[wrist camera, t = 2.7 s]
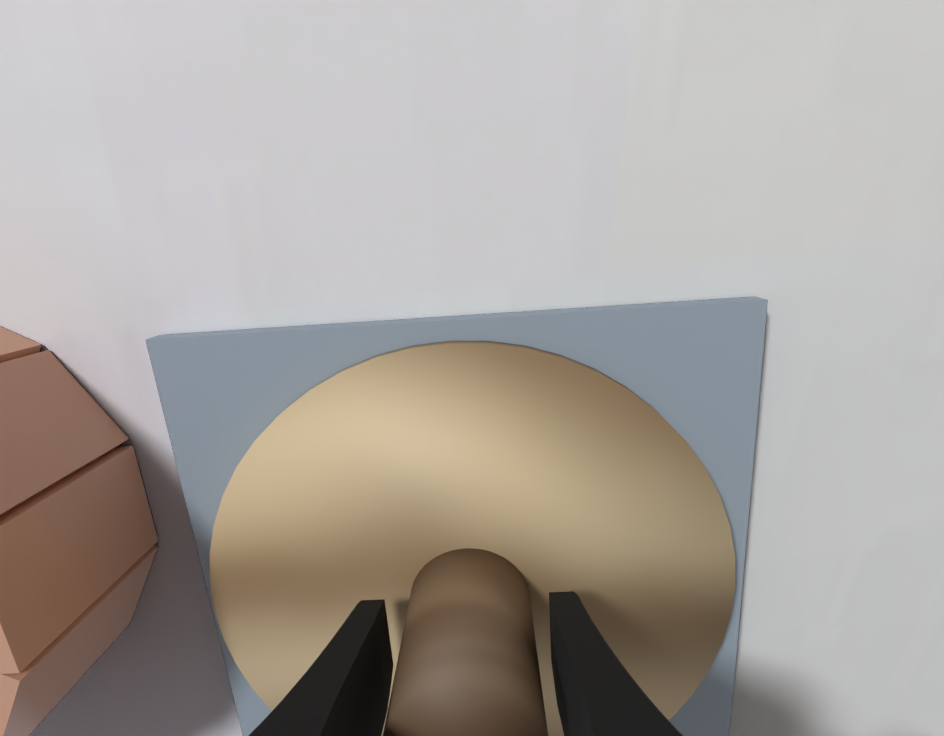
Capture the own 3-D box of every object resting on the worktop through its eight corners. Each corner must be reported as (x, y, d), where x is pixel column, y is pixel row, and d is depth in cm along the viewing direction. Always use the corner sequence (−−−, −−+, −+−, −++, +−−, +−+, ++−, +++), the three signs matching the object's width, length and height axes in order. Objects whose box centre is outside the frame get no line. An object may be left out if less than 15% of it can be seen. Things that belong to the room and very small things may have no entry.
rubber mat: (716, 757, 16) (725, 777, 16) (264, 771, 17) (256, 790, 16) (754, 296, 12) (767, 299, 12) (160, 334, 13) (145, 339, 12)
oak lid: (710, 764, 16) (802, 976, 11) (269, 779, 16) (188, 988, 12) (742, 320, 12) (898, 374, 7) (168, 359, 12) (-6, 431, 8)
